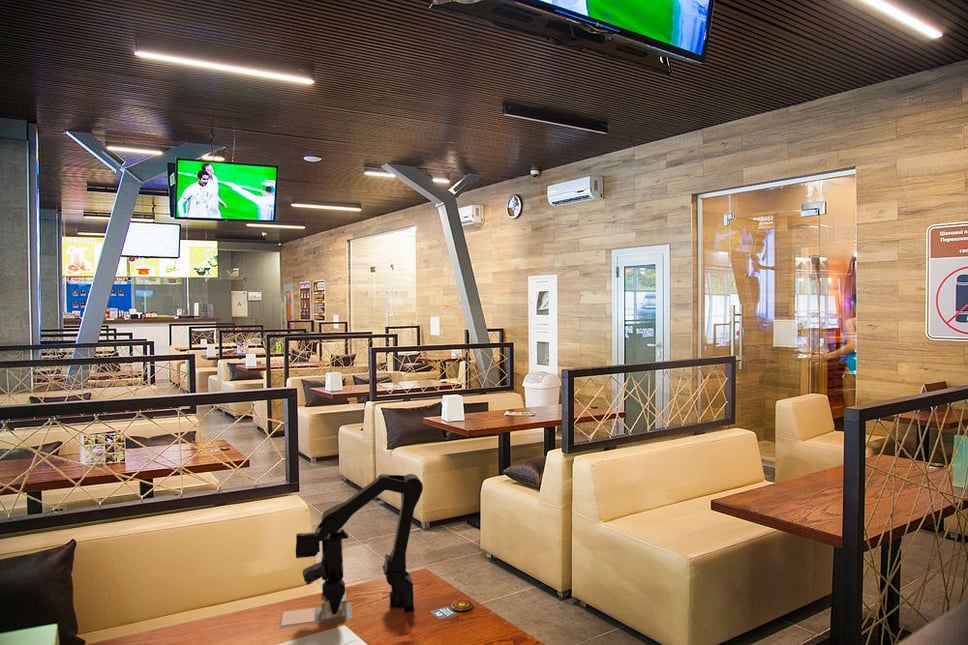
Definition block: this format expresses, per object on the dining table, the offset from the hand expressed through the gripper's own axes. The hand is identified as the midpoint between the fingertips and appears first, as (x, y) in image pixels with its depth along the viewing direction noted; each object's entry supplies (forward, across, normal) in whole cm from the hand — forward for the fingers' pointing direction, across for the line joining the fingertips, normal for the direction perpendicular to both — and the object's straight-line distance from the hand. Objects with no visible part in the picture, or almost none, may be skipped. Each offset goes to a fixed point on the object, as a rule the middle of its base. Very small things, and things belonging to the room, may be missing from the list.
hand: (334, 607), depth 194 cm
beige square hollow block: (+2, 0, 0) cm, 2 cm away
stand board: (+2, 0, -5) cm, 6 cm away
